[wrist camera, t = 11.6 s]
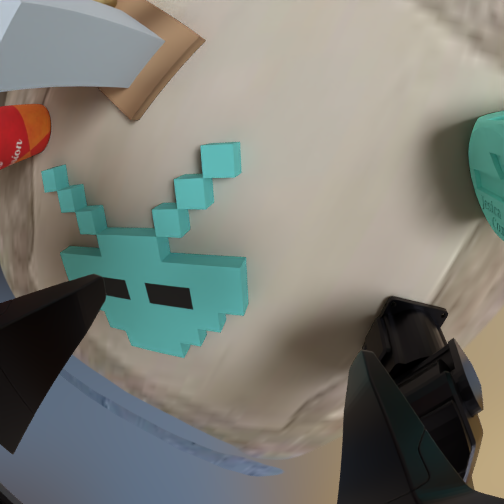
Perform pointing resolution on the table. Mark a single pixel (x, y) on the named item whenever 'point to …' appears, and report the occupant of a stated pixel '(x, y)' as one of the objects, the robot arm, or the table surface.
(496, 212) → the decorative dice
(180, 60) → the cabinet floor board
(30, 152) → the paper cup
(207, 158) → the alien figure
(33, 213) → the table surface
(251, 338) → the table surface
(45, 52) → the pale blue upright block
